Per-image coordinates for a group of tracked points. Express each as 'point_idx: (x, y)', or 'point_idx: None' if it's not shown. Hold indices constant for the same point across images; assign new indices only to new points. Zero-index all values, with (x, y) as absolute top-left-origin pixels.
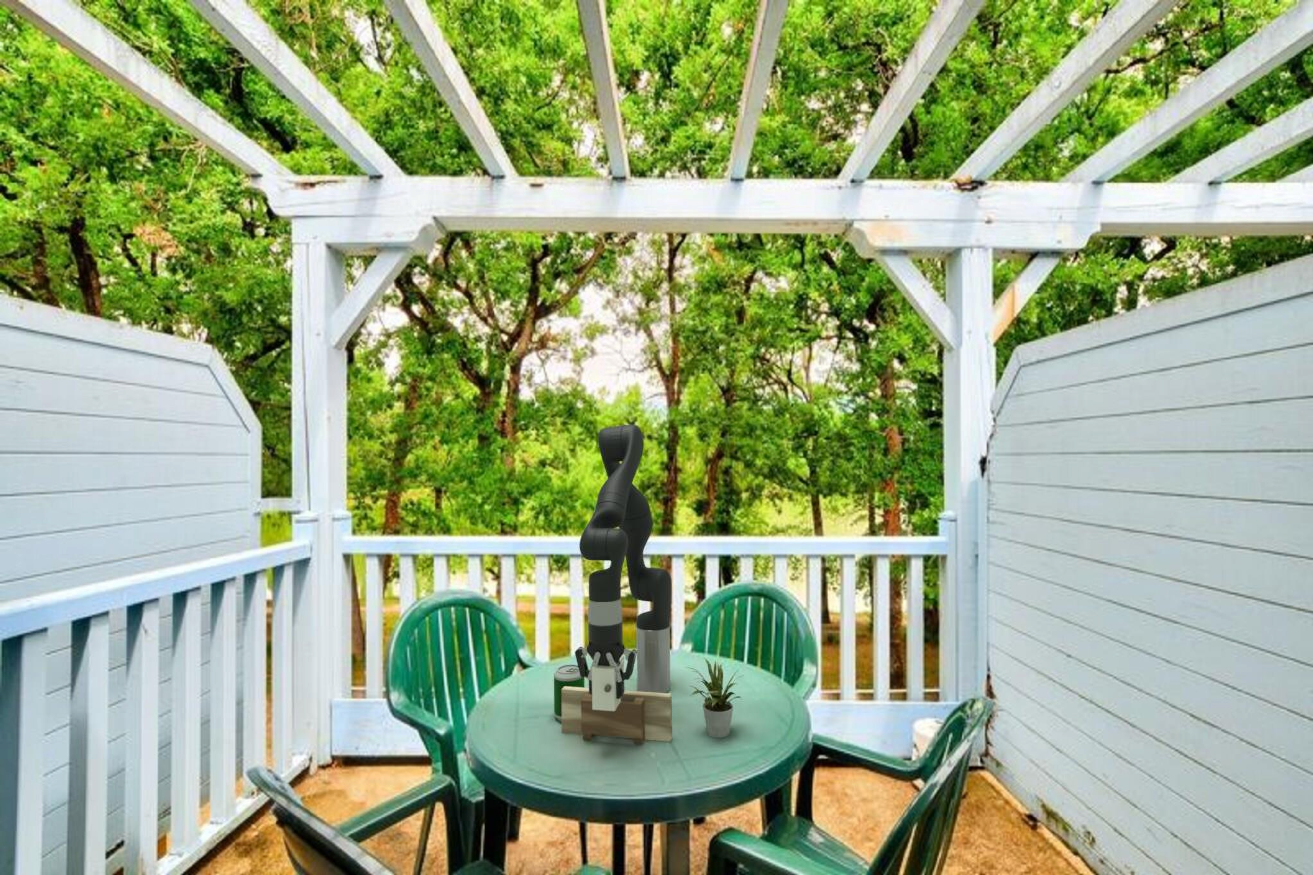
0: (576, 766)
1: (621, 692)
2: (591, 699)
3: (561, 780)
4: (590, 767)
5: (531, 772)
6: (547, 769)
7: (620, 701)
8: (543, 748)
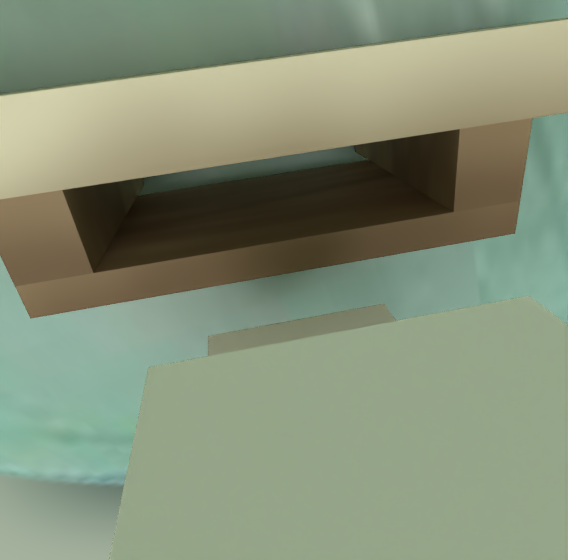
0: None
1: None
2: (103, 276)
3: None
4: None
5: (82, 447)
6: (120, 419)
7: (384, 309)
8: None
